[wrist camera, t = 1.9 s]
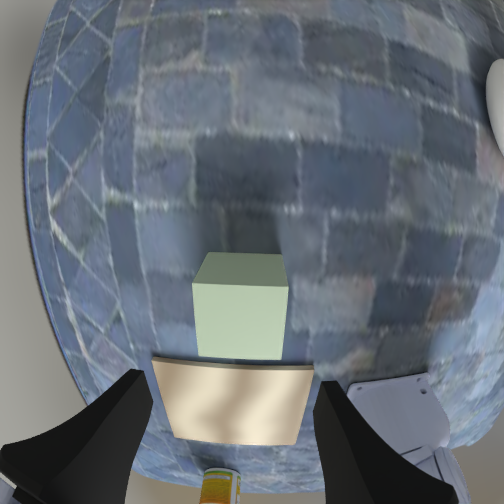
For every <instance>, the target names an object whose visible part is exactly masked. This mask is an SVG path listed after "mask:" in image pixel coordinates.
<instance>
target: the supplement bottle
mask: <svg viewBox="0 0 504 504" xmlns="http://www.w3.org/2000/svg"><path fill="white" fill-rule="evenodd" d="M240 481H241V476H240V474H239V473H238V472H236V471H234V470H230V469H226V468H210V469H207V470H206V471H205V472H204V477H203V484H202V491H201V497H200V503H199V504H239V496H240Z"/></svg>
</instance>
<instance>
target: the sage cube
mask: <svg viewBox="0 0 504 504" xmlns="http://www.w3.org/2000/svg"><path fill="white" fill-rule="evenodd" d="M192 288H193V301H194V313H195V324H196V335H197V344H198V353H199V356H205V357H219V358H235V359H259V360H281V356H282V347H283V338H284V329H285V319H286V310H287V299H288V288H289V286H288V281H287V277H286V272H285V267H284V263H283V258H282V254H254V253H224V252H208V253H207V255H206V257H205V259H204V261H203V263H202V265H201V267H200V269H199V271H198V273H197V275H196V277H195V279H194V280H193V282H192Z"/></svg>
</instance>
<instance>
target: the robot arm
mask: <svg viewBox="0 0 504 504" xmlns="http://www.w3.org/2000/svg"><path fill="white" fill-rule="evenodd" d="M429 376H430V375H429V373H422V374H417V375H411V376H406V377H400V378H393V379H387V380H379V381H371V382H362V383H354V384H352V385H350V387H349V389H348V392H347V395H346V394H345V392H344V391H343V389H342V388H341V386H340V385H339V383H338V382H337V381H321V385H320V389H319V392H318V396H317V400H316V403H315V406H314V410H313V418H314V430H315V436H316V441H317V446H318V451H319V456H320V460H321V465H322V470H323V475H324V482H325V494H326V504H471V498H470V494H469V492H468V489H467V484H466V481H465V478H464V476H463V473H462V471H461V469H460V467H459V465H458V463H457V461H456V459H455V457H454V455H453V453H452V452H451V450H450V449H449V448H447V447H446V446H447V444H448V442H449V438H450V424H449V420H448V417H447V415H446V413H445V411H444V409H443V408H442V406H441V404H440V402H439V401H438V399H437V397H436V395H435V394H434V392H433V390H432V389H431V387H430V385H429V383H428V382H427V380H428V379H429ZM152 405H153V399H152V396H151V393H150V390H149V387H148V384H147V380H146V377H145V374H144V371H142V370H136V369H130V370H129V371H127V372H126V373H125V374H124V375H123V376H122V377H121V378H120V379H119V380H117V381H116V382H115V383H114V384H113V385H112V386H111V387H110V388H109V389H108V390H106V391H105V392H104V393H103V394H102V395H101V396H100V397H98V398H97V399H96V400H95V401H94V402H92V403H91V404H90V405H89V406H87V407H86V408H85V409H83V410H82V411H81V412H79V413H78V414H77V415H75V416H74V417H72V418H71V419H69V420H67V421H66V422H64V423H62V424H61V425H59V426H57V427H55V428H53V429H51V430H49V431H47V432H45V433H42V434H40V435H37V436H35V437H32V438H29V439H26V440H23V441H19V442H15V443H10V444H5V445H3V447H2V448H1V450H0V472H1V473H2V474H3V475H5V476H6V477H7V478H8V479H9V480H10V481H12V482H13V483H14V484H15V485H17V487H16V489H14V488H13V487H11V486H10V485H9V484H7V483H6V482H5V481H4V480H2V479H1V478H0V504H124V503H125V496H126V490H127V485H128V480H129V476H130V471H131V467H132V464H133V461H134V458H135V455H136V453H137V450H138V447H139V445H140V442H141V440H142V437H143V435H144V432H145V429H146V427H147V424H148V422H149V418H150V414H151V410H152Z"/></svg>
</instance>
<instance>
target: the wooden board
mask: <svg viewBox="0 0 504 504" xmlns="http://www.w3.org/2000/svg"><path fill="white" fill-rule="evenodd" d="M152 363H153V367H154V371H155V375H156V379H157V382H158V386H159V389H160V393H161V396H162V400H163V403H164V406H165V409H166V412H167V416H168V419H169V422H170V425H171V428H172V430H173V433H174V436H175V437H177V438H183V439H190V440H198V441H206V442H216V443H227V444H244V445H295V442H296V439H297V436H298V432H299V429H300V425H301V421H302V418H303V414H304V410H305V406H306V403H307V399H308V395H309V391H310V386H311V382H312V378H313V374H314V366H313V365H306V366H265V365H237V364H221V363H208V362H196V361H187V360H178V359H169V358H162V357H153V359H152Z"/></svg>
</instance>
